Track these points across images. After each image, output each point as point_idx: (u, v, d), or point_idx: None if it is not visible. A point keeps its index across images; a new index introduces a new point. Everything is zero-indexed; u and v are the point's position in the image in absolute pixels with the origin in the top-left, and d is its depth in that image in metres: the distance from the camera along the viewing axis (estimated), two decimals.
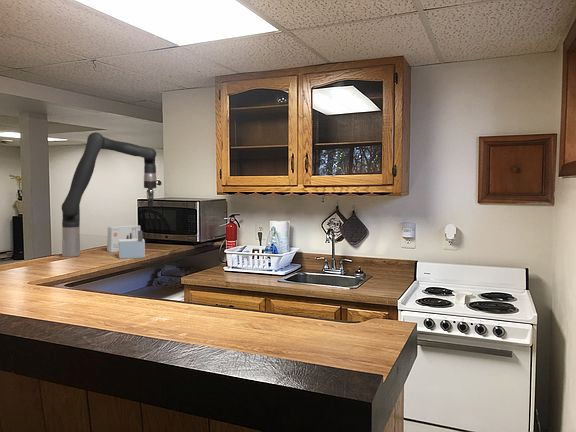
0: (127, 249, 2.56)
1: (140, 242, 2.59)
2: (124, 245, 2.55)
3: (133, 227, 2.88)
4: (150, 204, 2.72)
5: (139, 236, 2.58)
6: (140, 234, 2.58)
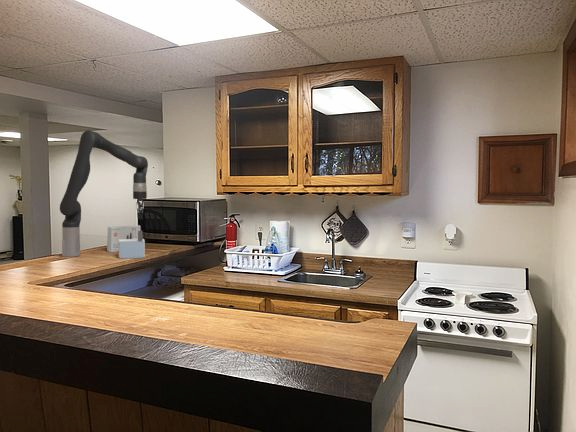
0: (127, 249, 2.56)
1: (140, 242, 2.59)
2: (124, 245, 2.55)
3: (133, 227, 2.88)
4: (140, 216, 2.53)
5: (139, 236, 2.58)
6: (140, 234, 2.58)
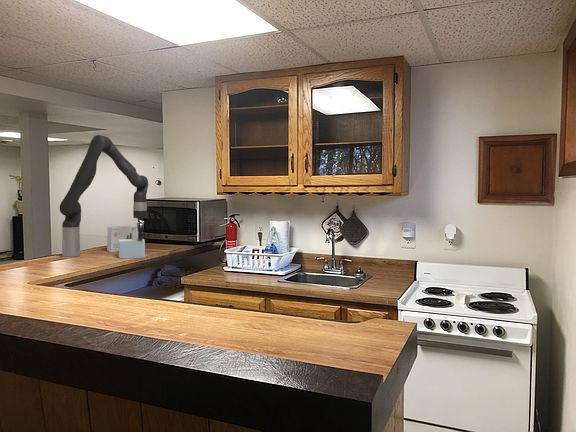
0: (127, 249, 2.56)
1: (140, 242, 2.59)
2: (124, 245, 2.55)
3: (133, 227, 2.88)
4: (139, 237, 2.57)
5: None
6: None
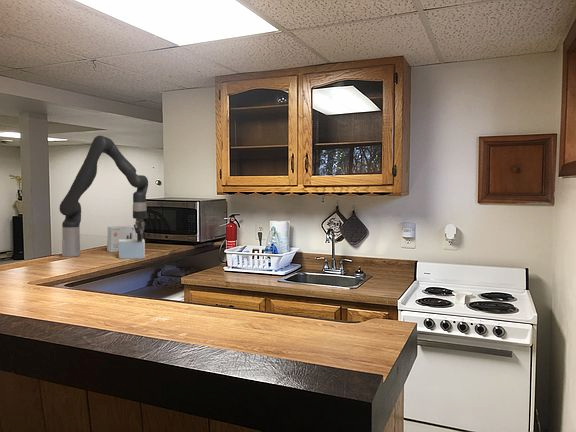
0: (126, 249, 2.55)
1: (139, 243, 2.55)
2: (124, 245, 2.55)
3: (133, 227, 2.88)
4: (138, 237, 2.53)
5: None
6: None
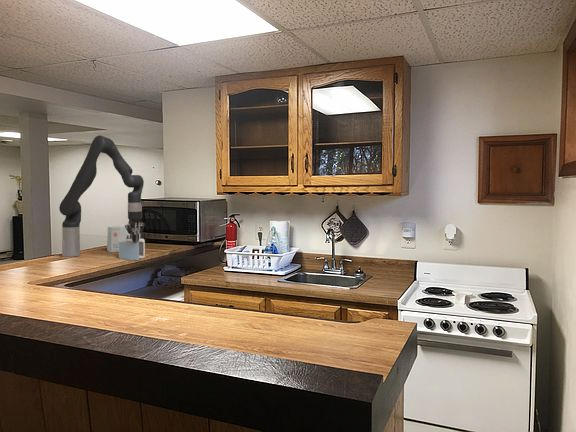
0: (124, 249, 2.53)
1: (135, 244, 2.50)
2: (122, 246, 2.53)
3: None
4: (132, 238, 2.48)
5: None
6: None
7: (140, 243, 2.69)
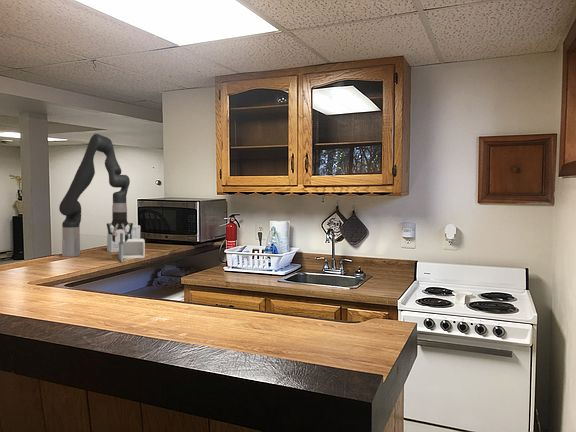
0: (119, 250, 2.51)
1: (121, 245, 2.44)
2: (119, 246, 2.52)
3: (133, 227, 2.88)
4: (112, 239, 2.43)
5: (120, 239, 2.44)
6: (120, 237, 2.44)
7: (140, 243, 2.69)
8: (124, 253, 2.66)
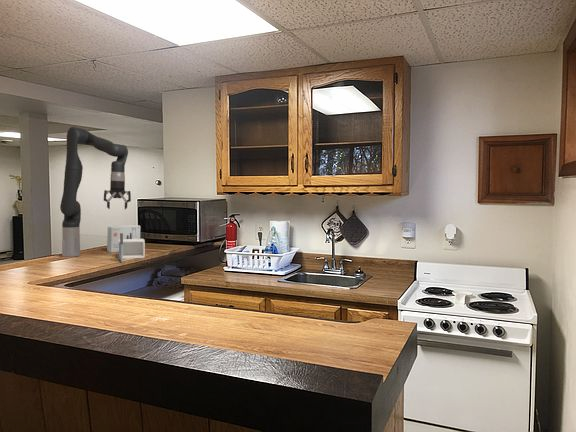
0: (119, 250, 2.51)
1: (121, 245, 2.44)
2: (119, 246, 2.52)
3: (133, 227, 2.88)
4: (107, 206, 2.47)
5: (120, 239, 2.44)
6: (120, 237, 2.44)
7: (140, 243, 2.69)
8: (124, 253, 2.66)
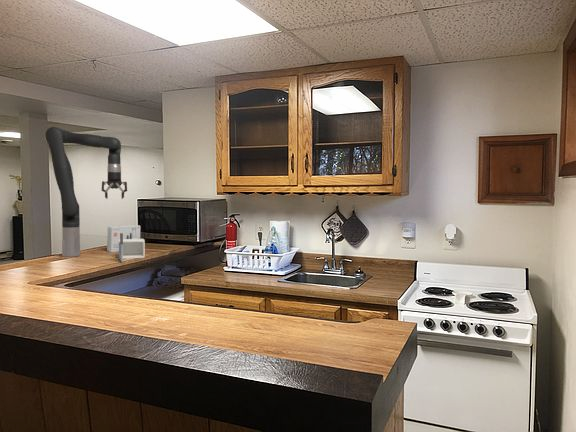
0: (119, 250, 2.51)
1: (121, 245, 2.44)
2: (119, 246, 2.52)
3: (133, 227, 2.88)
4: (105, 196, 2.63)
5: (120, 239, 2.44)
6: (120, 237, 2.44)
7: (140, 243, 2.69)
8: (124, 253, 2.66)
